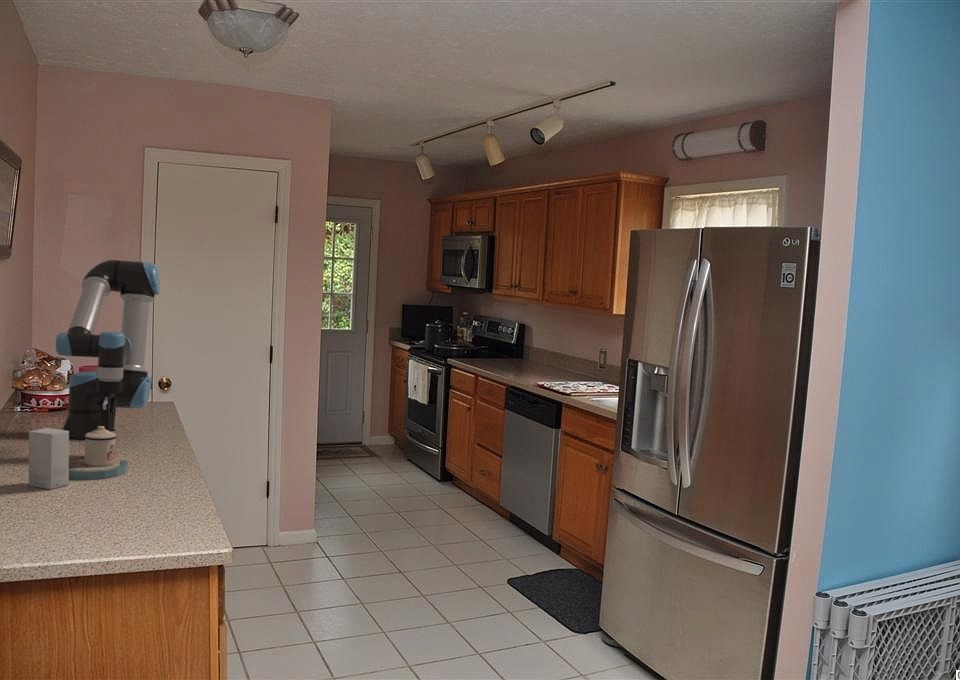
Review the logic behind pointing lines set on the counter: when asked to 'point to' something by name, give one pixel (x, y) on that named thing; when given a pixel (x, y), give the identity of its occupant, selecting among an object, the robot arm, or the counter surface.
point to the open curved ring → (99, 472)
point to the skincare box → (48, 458)
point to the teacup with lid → (100, 447)
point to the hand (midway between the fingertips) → (106, 451)
